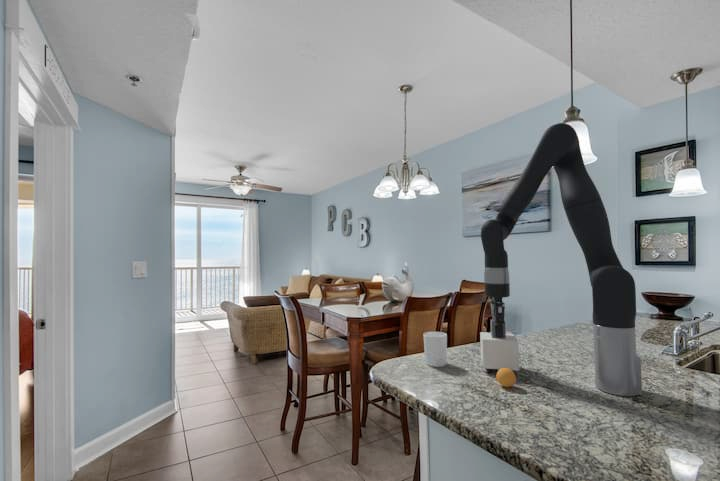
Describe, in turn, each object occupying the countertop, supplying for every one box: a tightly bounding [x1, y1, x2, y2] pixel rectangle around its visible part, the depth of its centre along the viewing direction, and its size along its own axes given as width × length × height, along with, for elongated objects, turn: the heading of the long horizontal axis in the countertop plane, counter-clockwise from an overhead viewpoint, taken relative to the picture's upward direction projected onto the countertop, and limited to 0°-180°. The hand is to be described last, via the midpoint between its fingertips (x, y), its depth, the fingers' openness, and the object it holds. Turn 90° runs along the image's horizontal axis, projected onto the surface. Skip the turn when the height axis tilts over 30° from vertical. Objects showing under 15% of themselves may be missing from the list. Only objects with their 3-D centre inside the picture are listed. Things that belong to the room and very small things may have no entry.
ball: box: [495, 368, 517, 388], centre depth 96 cm, size 5×5×5 cm
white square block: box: [479, 318, 520, 372], centre depth 110 cm, size 10×10×14 cm
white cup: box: [422, 331, 448, 368], centre depth 116 cm, size 8×8×10 cm
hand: (498, 335), depth 110 cm, fingers closed on white square block, 4 cm apart
